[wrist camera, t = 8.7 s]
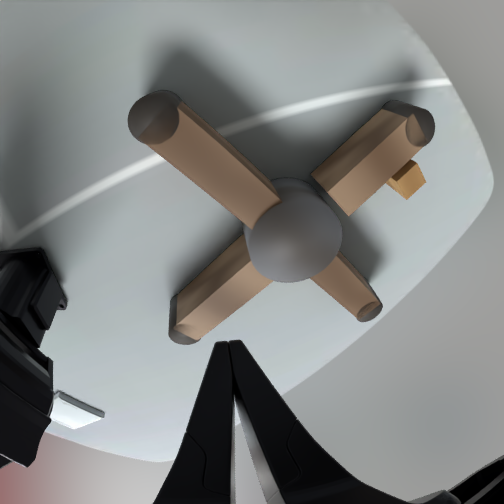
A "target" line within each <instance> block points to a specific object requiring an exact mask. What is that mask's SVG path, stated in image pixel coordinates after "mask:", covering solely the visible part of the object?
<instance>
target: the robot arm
mask: <svg viewBox="0 0 504 504" xmlns="http://www.w3.org/2000/svg"><path fill="white" fill-rule="evenodd" d="M38 253H39V254H40V255H39V254H38ZM66 307H67V302H66V300H65V298H64V296H63V293H62V291H61V289H60V287H59V285H58V282H57V280H56V278H55V276H54V273H53V271H52V269H51V267H50V264H49V262H48V259H47V257H46V254H45V252H44V250H43V249H42V248H29V249H20V250H12V251H3V252H0V469H1V468H3V467H4V466H6V465H8V464H10V463H12V462H15V463H17V464H19V465H22V466H23V467H29V466H30V465H31V463H32V462H33V461H34V460H35V458H36V454H37V450H38V446H39V442H40V439H41V437H42V435H43V433H44V431H45V429H46V428H47V427H48V425H49V424H50V423H51V418H50V415H51V412H52V409H53V401H54V392H53V361H52V360H51V359H50V358H49V357H46V356H45V355H44V354H43V353H42V352H41V351H40V350H39V349H37V348H40V345H41V342H42V339H43V336H44V334H45V331H46V330H49V328H50V326H51V323H52V321H53V318H54V316H55V313H56V310H65V309H66ZM234 397H235V402H236V406H237V410H238V413H239V417H240V420H241V424H242V427H243V431H244V434H245V437H246V441H247V444H248V447H249V450H250V454H251V457H252V460H253V463H254V466H255V469H256V472H257V475H258V478H259V481H260V484H261V487H262V490H263V493H264V496H265V499H266V502H267V504H504V455H503V456H501V457H499V458H498V459H496V460H494V461H493V462H491V463H489V464H487V465H485V466H484V467H482V468H481V469H480V470H478V471H476V472H475V473H473V474H472V475H470V476H469V477H467V478H466V479H464V480H463V481H461V482H460V483H458V484H457V485H456V486H454V487H453V488H451V489H449V490H448V491H446V490H441V491H438V492H435V493H432V494H430V495H427V496H424V497H421V498H418V499H415V500H412V501H409V502H406V501H403V500H401V499H398V498H396V497H393V496H391V495H389V494H386V493H384V492H382V491H380V490H378V489H375V488H373V487H371V486H369V485H367V484H365V483H363V482H361V481H360V480H358V479H357V478H355V477H354V476H353V475H352V474H350V473H349V472H348V471H347V470H346V469H345V468H343V467H342V466H341V465H340V464H339V463H338V462H337V461H336V460H335V459H334V458H332V456H330V455H329V454H328V453H327V452H326V451H325V450H324V449H323V448H322V447H321V446H320V445H319V444H318V443H317V442H316V441H315V440H314V438H313V437H312V436H311V435H310V434H309V433H308V431H307V430H306V429H305V428H304V426H303V425H302V424H301V423H300V421H299V420H296V419H297V417H296V416H295V415H294V413H293V412H292V411H291V409H290V408H289V407H288V405H287V404H286V403H285V401H284V400H283V399H282V397H281V396H280V394H279V393H278V392H277V390H276V389H275V388H274V386H273V385H272V383H271V382H270V381H269V379H268V378H267V376H266V375H265V374H264V372H263V371H262V369H261V368H260V367H259V365H258V364H257V362H256V361H255V359H254V358H253V356H252V355H251V354H250V352H249V351H248V349H247V348H246V346H245V345H244V343H243V342H242V341H241V340H231V341H229V342H227V341H219V342H216V343H215V344H214V347H213V350H212V353H211V356H210V359H209V362H208V365H207V368H206V371H205V374H204V377H203V380H202V383H201V386H200V389H199V392H198V395H197V398H196V401H195V404H194V407H193V410H192V413H191V416H190V419H189V423H188V426H187V429H186V432H185V434H184V437H183V440H182V443H181V446H180V449H179V451H178V454H177V457H176V459H175V461H174V463H173V465H172V468H171V470H170V472H169V474H168V476H167V478H166V480H165V481H164V483H163V485H162V488H161V489H160V491H159V493H158V495H157V497H156V499H155V501H154V502H153V504H236V502H235V402H234Z"/></svg>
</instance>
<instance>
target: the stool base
mask: <svg viewBox="0 0 504 504" xmlns="http://www.w3.org/2000/svg"><path fill="white" fill-rule="evenodd" d="M128 127H129V130H130V132H131V134H132V135H133V136H134V137H135V138H136V139H137V140H138V141H140V142H142V143H145V144H146V145H148V146H149V147H150V148H151V149H153V150H154V151H155V152H156V153H158V154H159V155H160V156H161V157H163V158H164V159H165V160H167V161H168V162H169V163H170V164H172V165H173V166H174V167H175V168H177V169H178V170H179V171H180V172H182V173H183V174H184V175H185V176H187V177H188V178H189V179H190V180H192V181H193V182H194V183H195V184H196V185H198V186H199V187H200V188H201V189H203V190H204V191H205V192H206V193H208V194H209V195H210V196H211V197H213V198H214V199H215V200H216V201H217V202H219V203H220V204H221V205H222V206H224V207H225V208H226V209H227V210H228V211H230V212H231V213H232V214H233V215H235V216H236V217H237V218H238V219H239V220H241V222H242V228H243V232H244V233H243V234H242V235H241V236H240V237H239V238H238V239H237V240H236V241H235V242H233V243H232V244H231V245H230V246H229V247H228V248H227V249H226V250H225V251H224V252H223V253H222V254H220V255H219V256H218V257H217V258H216V259H215V260H214V261H213V262H212V263H211V264H210V265H209V266H208V267H207V268H205V269H204V270H203V271H202V272H201V273H200V274H199V275H198V276H197V277H196V278H195V279H194V280H193V281H192V282H190V283H189V284H188V285H187V286H186V287H185V288H184V289H183V290H182V291H181V292H180V293H179V294H178V295H176V296H174V297H173V298H172V299H171V301H170V314H169V333H168V334H169V337H170V339H171V340H172V341H174V342H175V343H178V344H182V345H190V344H194V343H196V342H198V341H199V340H200V339H201V337H203V336H204V335H205V334H207V333H208V332H209V331H211V330H212V329H213V328H214V327H216V326H217V325H218V324H220V323H221V322H222V321H223V320H225V319H226V318H227V317H229V316H230V315H231V314H232V313H234V312H235V311H236V310H238V309H239V308H240V307H241V306H243V305H244V304H245V303H246V302H248V301H249V300H250V299H251V298H253V297H254V296H255V295H256V294H258V293H259V292H260V291H261V290H263V289H264V288H265V287H266V286H268V285H269V284H270V283H271V282H273V281H277V282H284V283H291V282H298V281H302V280H305V279H308V278H310V279H312V280H313V281H314V282H315V283H316V284H318V285H319V286H320V287H321V288H322V289H323V290H325V291H326V292H327V293H328V294H329V295H330V296H332V297H333V298H334V299H335V300H336V301H338V302H339V303H340V304H341V305H342V306H343V307H345V308H346V309H347V310H348V311H349V312H350V313H352V314H353V315H354V316H355V317H356V318H357V320H358V321H360V322H367V321H370V320H372V319H374V318H375V317H376V316H377V315H378V314H379V313H380V312H381V310H382V307H383V305H382V303H381V301H380V300H379V298H378V296H377V295H376V293H375V292H374V290H373V289H372V287H371V286H370V284H369V283H368V281H367V280H366V278H364V277H363V276H362V275H361V274H360V273H359V272H358V271H357V270H356V269H355V268H354V267H353V265H352V264H351V263H350V262H349V261H348V260H347V259H346V258H345V257H344V256H343V255H342V253H341V252H340V251H339V249H340V246H341V243H342V226H341V223H340V221H339V219H338V217H337V215H336V214H335V213H334V212H333V210H332V209H331V208H330V207H329V206H328V204H327V203H326V202H325V201H324V200H323V198H322V197H321V196H320V195H319V194H318V192H317V191H316V190H315V189H314V188H313V187H312V186H311V185H309V184H308V183H306V182H304V181H302V180H299V179H294V178H279V179H275V180H272V181H270V180H269V179H268V178H267V177H266V176H265V175H264V174H263V173H261V172H260V171H259V170H258V169H257V168H256V167H255V166H254V165H253V164H252V163H251V162H250V161H249V160H248V159H247V158H245V157H244V156H243V155H242V154H241V153H240V152H239V151H238V150H237V149H236V148H235V147H234V146H232V145H231V144H230V143H229V142H228V141H227V140H226V139H225V138H224V137H222V136H221V135H220V134H219V133H218V132H217V131H216V130H215V129H213V128H212V127H211V126H210V125H209V124H208V123H207V122H205V121H204V120H203V119H202V118H201V117H200V116H198V115H197V114H196V113H195V112H194V111H193V110H191V109H190V108H189V107H188V106H187V105H186V104H184V103H183V102H182V101H181V99H180V98H179V97H178V96H177V95H176V94H175V93H173V92H171V91H167V90H161V91H156V92H154V93H151V94H149V95H146V96H144V97H142V98H140V99H139V100H138V101H136V102H135V104H134V105H133V106H132V108H131V109H130V112H129V115H128ZM424 183H426V181H425V178H424V176H423V174H422V172H421V170H420V168H419V166H418V164H417V163H416V162H414V161H413V160H411V159H410V160H409V161H408V162H407V163H406V164H405V165H404V166H403V167H402V168H401V169H399V170H398V171H397V172H396V173H395V174H394V175H393V176H392V177H391V178H390V179H389V180H388V181H387V182H386V184H388V185H389V186H390V187H391V188H393V189H394V190H395V191H396V192H398V193H399V194H400V195H401V196H403V197H404V198H405V199H406V200H407V199H408V198H409V197H410V196H412V195H413V194H414V193H415V192H416V191H417V190H418V189H419V188H420V187H421V186H422V185H423V184H424Z"/></svg>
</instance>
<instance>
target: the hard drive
mask: <svg viewBox="0 0 504 504" xmlns="http://www.w3.org/2000/svg"><path fill="white" fill-rule="evenodd" d="M104 416H105V413H103V412H101V411H99V410H96V409H94V408H92V407H90V406H87V405H85V404H83V403H81V402H79V401H77V400H75V399H73V398H71V397H69V396H67V395H65V394H63V393H61V392H58V393H57V394H55V395H54V401H53V409H52V412H51V415H50V418H51V420H53V421H56V422H58V423H60V424H62V425H64V426H67V427H69V428H72V429H76V428H79V427H82V426H84V425H87V424H90V423H92V422H95V421H97V420H100V419H102V418H104Z"/></svg>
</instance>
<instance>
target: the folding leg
mask: <svg viewBox="0 0 504 504" xmlns="http://www.w3.org/2000/svg"><path fill="white" fill-rule="evenodd" d="M434 132H435V122H434V119H433V116H432V115H431V113H430V112H429V111H427V110H426V109H423V108H420V107H417V106H413V105H410V104H407V103H404V102H400V101H397V100H392V101H389V102H387V103H386V104H385V105H384V106H383V108H382V109H381V110H380V111H379V112H378V113H377V114H376V115H374V116H373V117H372V118H371V119H370V120H369V121H368V122H367V123H366V124H365V125H363V126H362V127H361V128H360V129H359V130H358V131H357V132H356V133H355V134H354V135H352V136H351V137H350V138H349V139H348V140H347V141H346V142H345V143H344V144H343V145H341V146H340V147H339V148H338V149H337V150H336V151H335V152H334V153H333V154H332V155H331V156H330V157H328V158H327V159H326V160H325V161H324V162H323V163H322V164H321V165H320V166H319V167H318V168H317V169H315V170H314V171H313V172H312V173H311V175H312V177H313V178H314V179H315V180H316V181H317V182H318V183H319V184H320V185H321V186H322V187H323V188H324V189H325V191H326V192H327V193H328V194H329V195H330V196H331V197H332V198H333V199H334V200H335V202H336V203H337V204H338V205H339V206H340V207H341V208H342V210H343V211H344V212H345V213H346V214H347V215H348V216H350V215H351V214H352V213H353V212H354V211H355V210H356V209H357V208H358V207H360V206H361V205H362V204H363V203H364V202H365V201H366V200H367V199H368V198H369V197H371V196H372V195H373V194H374V193H375V192H376V191H377V190H378V189H379V188H380V187H381V186H382V185H384V184H385V183H386V182H387V181H388V180H389V179H390V178H391V177H392V176H393V175H394V174H395V173H396V172H397V171H398V170H399V169H401V168H402V167H403V166H404V165H405V164H406V163H407V162H408V161H409V160H410V159H411V158H412V157H413V156H414V155H415V154H416V153H417V152H418V151H419V150H420V149H421V148H422V147H424V146H426V145H427V144H428V143H429V142H430V141H431V140H432V138H433V135H434Z"/></svg>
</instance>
